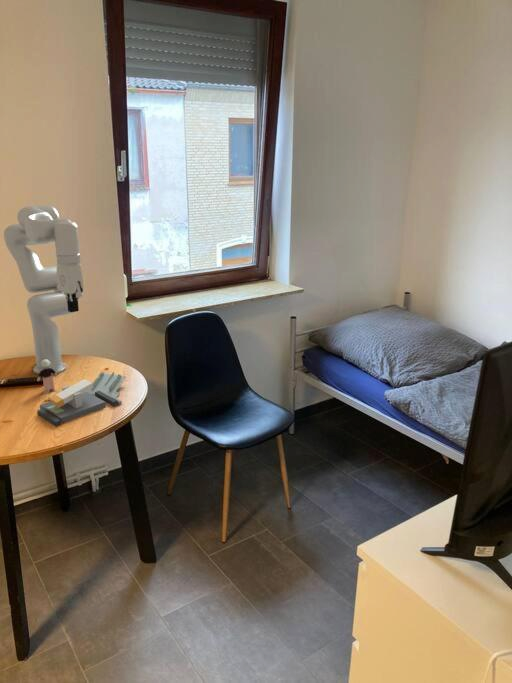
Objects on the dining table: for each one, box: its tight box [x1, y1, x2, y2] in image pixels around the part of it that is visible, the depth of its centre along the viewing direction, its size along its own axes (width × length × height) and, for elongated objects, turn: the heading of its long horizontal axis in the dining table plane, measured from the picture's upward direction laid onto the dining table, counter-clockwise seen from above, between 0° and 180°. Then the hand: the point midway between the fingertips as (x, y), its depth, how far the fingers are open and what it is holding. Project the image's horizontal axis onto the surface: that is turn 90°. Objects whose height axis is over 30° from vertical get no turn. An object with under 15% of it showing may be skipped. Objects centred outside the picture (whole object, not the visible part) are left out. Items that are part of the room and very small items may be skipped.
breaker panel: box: [39, 385, 107, 425], centre depth 188 cm, size 14×17×7 cm
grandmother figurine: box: [36, 359, 58, 394], centre depth 199 cm, size 8×4×13 cm, turn 148°
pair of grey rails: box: [37, 391, 123, 428], centre depth 188 cm, size 13×25×2 cm, turn 138°
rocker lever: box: [48, 378, 94, 408], centre depth 187 cm, size 6×14×2 cm, turn 138°
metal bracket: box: [87, 371, 127, 399], centre depth 204 cm, size 14×6×15 cm
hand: (73, 311), depth 189 cm, fingers closed
